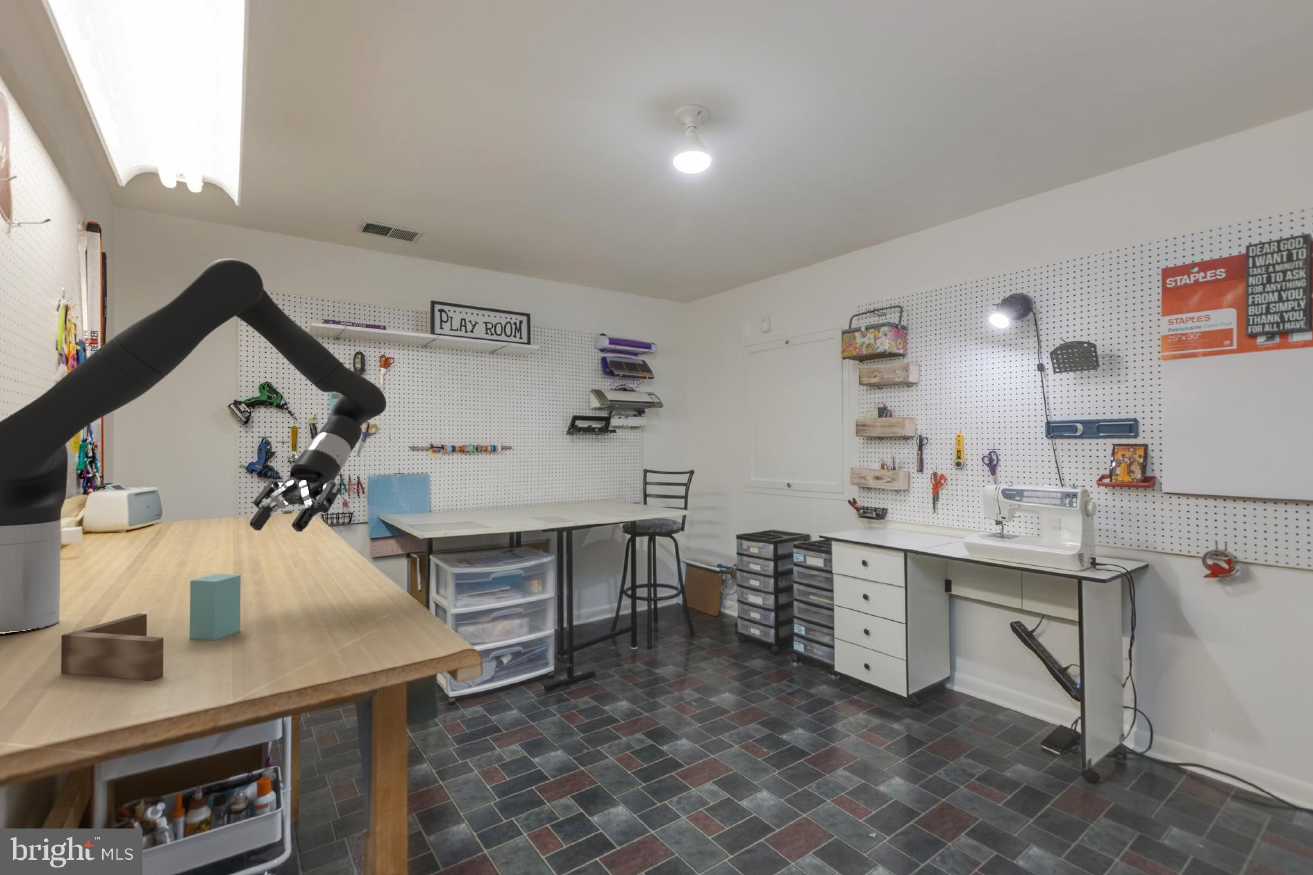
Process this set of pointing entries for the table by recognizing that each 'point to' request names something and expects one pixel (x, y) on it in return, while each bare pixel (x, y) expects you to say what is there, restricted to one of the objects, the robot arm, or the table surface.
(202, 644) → the table surface
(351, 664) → the table surface
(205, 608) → the teal block
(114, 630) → the walnut corner
